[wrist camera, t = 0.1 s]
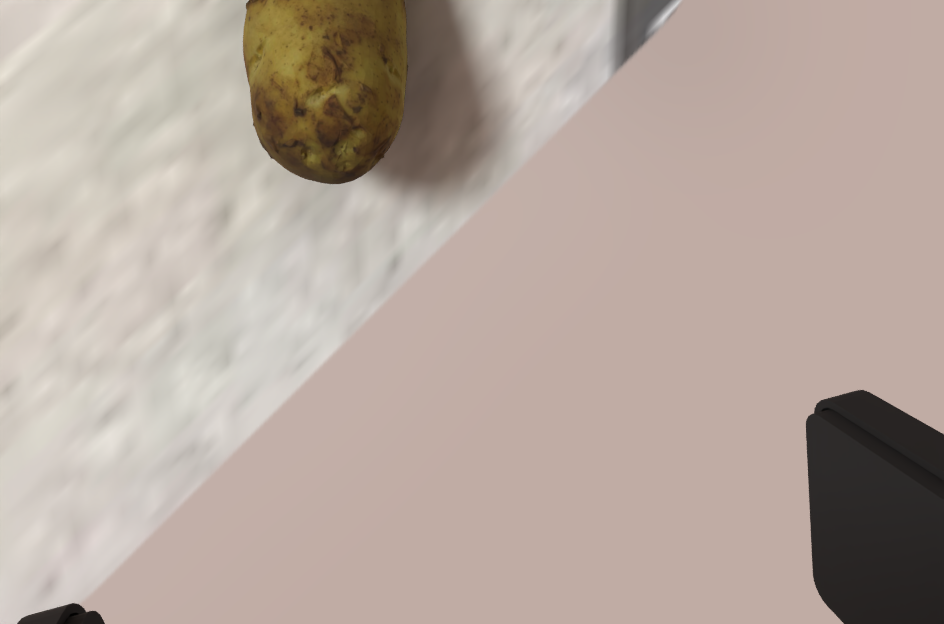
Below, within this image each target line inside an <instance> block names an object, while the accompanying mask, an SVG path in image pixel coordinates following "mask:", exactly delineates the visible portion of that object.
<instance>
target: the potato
mask: <svg viewBox="0 0 944 624" xmlns="http://www.w3.org/2000/svg"><path fill="white" fill-rule="evenodd" d="M246 9H247V13H246V18H245V24H244V35H243V53H244V61H245V67H246V72H247V77H248V82H249V85H250V92H251V105H252V116H253V121H254V122H253V126H255V129H256V132H257V135H258V137H259V140H260V143H261V144H262V146H263V148H264V149H265V150H266V151H267V152H268V154H269V156H270V157H271V158H272V159H275V160H276V161H277V162H278V163H279V164H280V165H282V166H283V167H284V168H285V169H287V170H289V171H290V172H292V173H294V174H296V175H298V176H300V177H302V178H305V179H308V180H312V181H316V182H320V183H327V184H341V183H346V182H350V181H353V180H355V179H357V178H359V177H361V176H362V175H364V174H365V173H367V172H368V171H369V170H371V169H372V168H373V167H374V166H375V165H376V164H377V163H378V162H379V160H380V159H381V158H384V154H385V153H386V151H387V150H388V149H389V147H390V146H391V144H392V142H393V141H394V139H395V137H396V135H397V133H398V130H399V128H400V125H401V121H402V117H403V111H404V98H405V87H406V79H407V70H408V65H407V45H406V23H407V22H406V10H405V2H404V0H249V1H248V2H247V3H246Z"/></svg>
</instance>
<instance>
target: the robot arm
mask: <svg viewBox="0 0 944 624" xmlns="http://www.w3.org/2000/svg"><path fill="white" fill-rule="evenodd" d="M806 438H807V458H808V478H809V499H810V500H809V501H810V522H811V542H812V562H813V577H814V582H815V585H816V588H817V590H818V593H819V595H820V596H821V598H822V600H823V601H824V602H825V603H826V605H827V606H828V607H829V608H830V609H831V610H832V611H833V612H834V613H835V614H836V616H837V617H838V618H839V619H840V620H841V621H842V622H843V623H844V624H944V434H942V433H940V432H938V431H937V430H935V429H933V428H931V427H930V426H928V425H926V424H924V423H923V422H921V421H919V420H917V419H915V418H914V417H912V416H910V415H908V414H907V413H905V412H903V411H901V410H900V409H898V408H896V407H894V406H893V405H891V404H889V403H887V402H886V401H884V400H882V399H880V398H878V397H877V396H875V395H873V394H871V393H870V392H867V391H864V390H858V391H854V392H850V393H846V394H842V395H839V396H835V397H832V398H828V399H824V400H821V401H820V402H819V403H817V405H816V407H815V411H814V414H811V415H810V416H808V418H807V421H806ZM17 624H105V623H104V621H103V619H102V617H101V616H100V614H98V613H97V612H96V611H89V612H86V611H85V610H84V608H83V607H82V606H80V605H79V604H75V603H72V604H68V605H65V606H61V607H57V608H54V609H50V610H46V611H43V612H39V613H35V614H32V615H28V616H26V617H24V618H22V619H21V620H20V621H19V622H18V623H17Z"/></svg>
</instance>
